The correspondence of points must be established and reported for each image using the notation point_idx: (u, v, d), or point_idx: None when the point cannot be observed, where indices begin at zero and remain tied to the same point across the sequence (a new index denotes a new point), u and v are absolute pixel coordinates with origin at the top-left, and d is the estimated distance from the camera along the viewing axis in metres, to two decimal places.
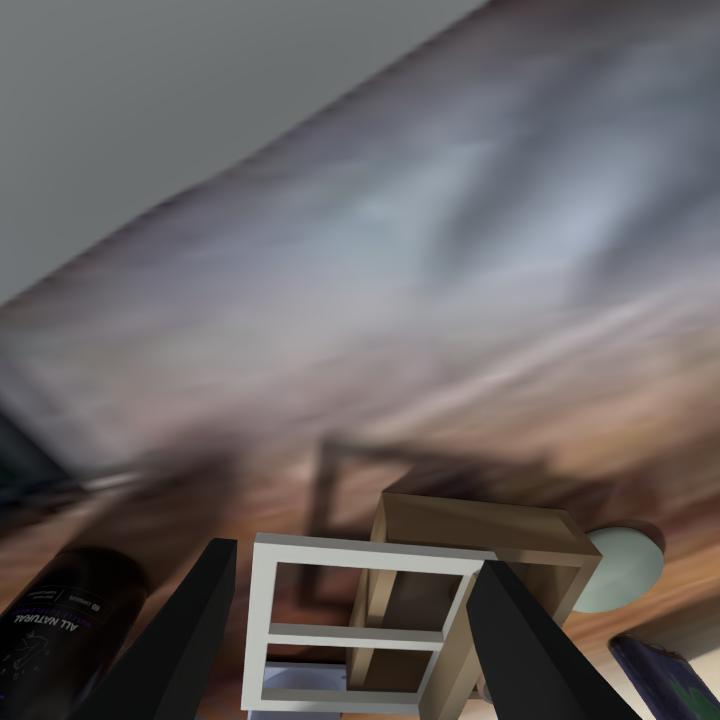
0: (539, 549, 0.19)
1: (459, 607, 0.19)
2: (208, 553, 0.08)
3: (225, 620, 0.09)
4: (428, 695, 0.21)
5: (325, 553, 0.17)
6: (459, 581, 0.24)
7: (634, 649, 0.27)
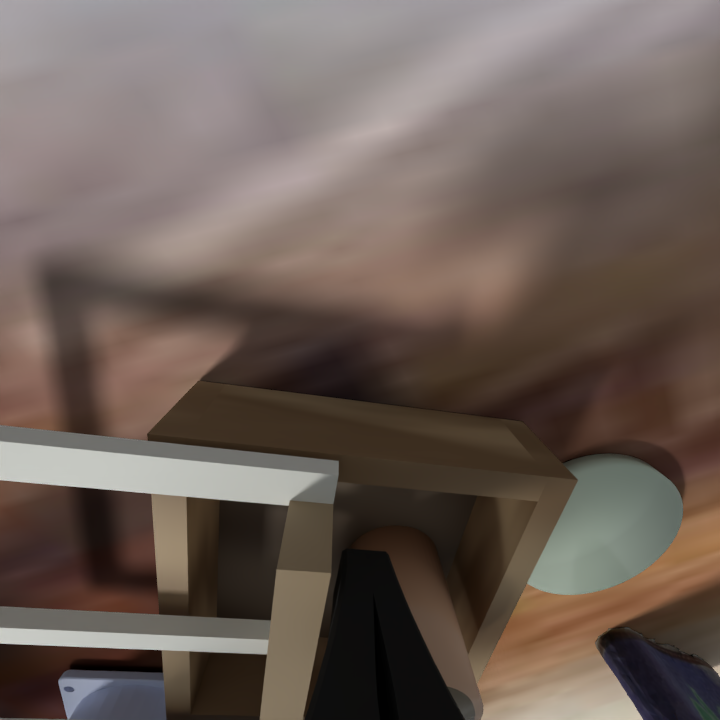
0: (456, 465, 0.10)
1: None
2: (350, 563, 0.09)
3: None
4: None
5: None
6: (355, 543, 0.15)
7: (636, 650, 0.18)
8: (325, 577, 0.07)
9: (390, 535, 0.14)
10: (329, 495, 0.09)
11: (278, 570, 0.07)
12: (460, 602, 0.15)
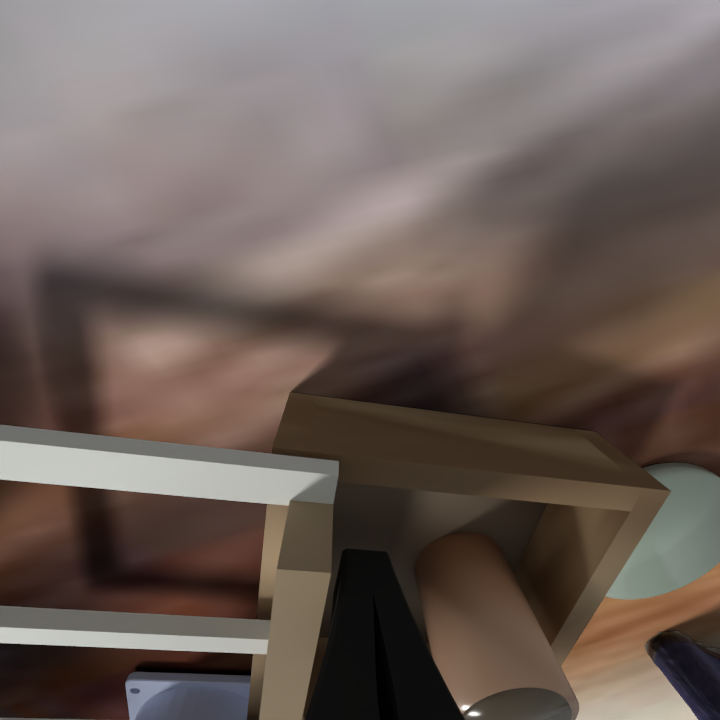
0: (557, 476, 0.11)
1: None
2: (350, 564, 0.09)
3: None
4: None
5: None
6: (427, 549, 0.15)
7: (688, 653, 0.19)
8: (325, 577, 0.07)
9: (463, 541, 0.15)
10: (329, 495, 0.09)
11: (278, 570, 0.07)
12: None
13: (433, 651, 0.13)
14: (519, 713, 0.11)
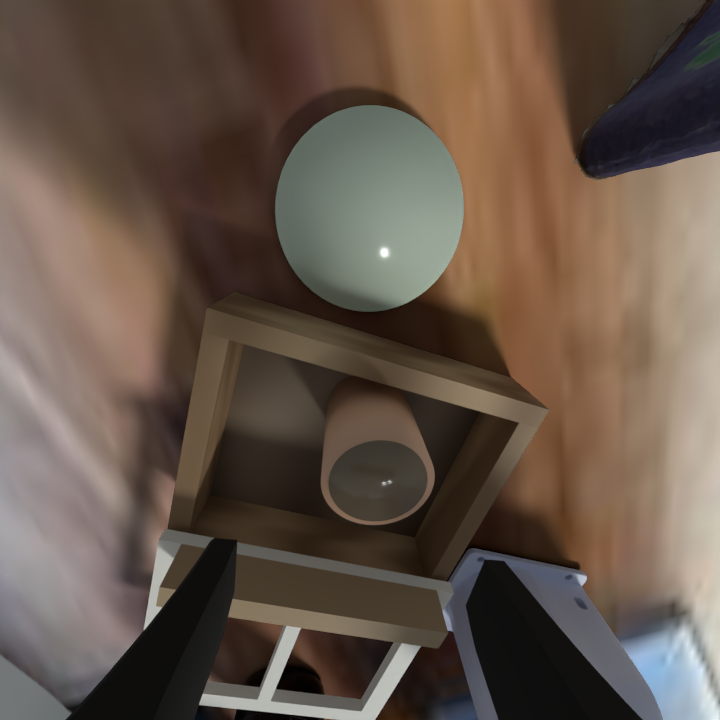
0: (191, 398, 0.14)
1: None
2: (208, 553, 0.08)
3: (225, 620, 0.09)
4: None
5: None
6: None
7: (598, 137, 0.13)
8: (163, 589, 0.14)
9: None
10: (174, 544, 0.15)
11: (155, 606, 0.14)
12: None
13: None
14: (361, 481, 0.13)
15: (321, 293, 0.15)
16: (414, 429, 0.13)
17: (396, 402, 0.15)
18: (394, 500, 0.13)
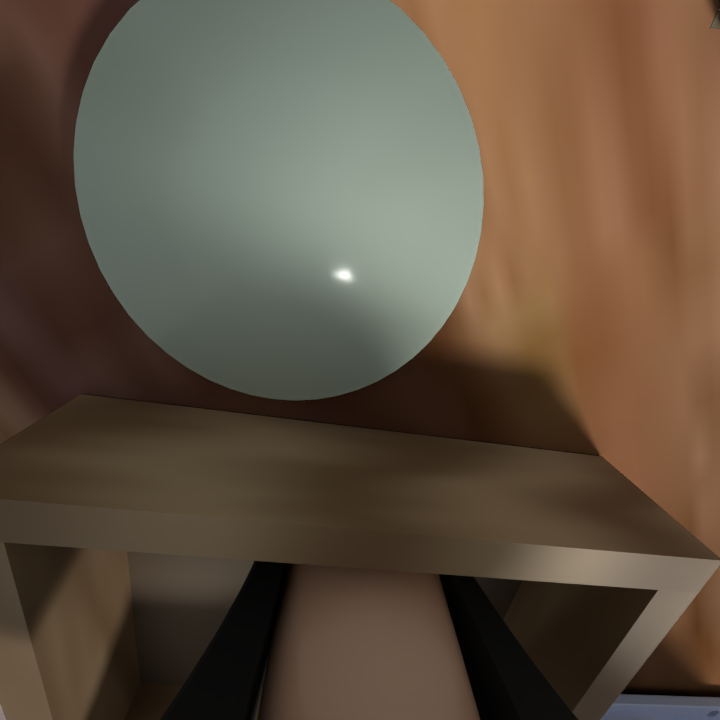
0: None
1: None
2: None
3: None
4: None
5: None
6: None
7: None
8: None
9: None
10: None
11: None
12: None
13: None
14: None
15: (226, 380, 0.08)
16: (443, 679, 0.06)
17: (400, 579, 0.07)
18: None
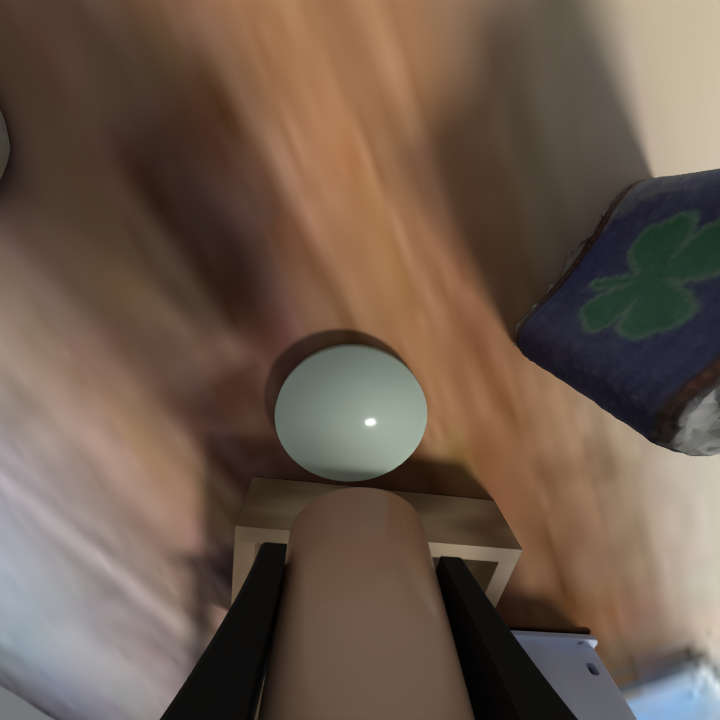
0: (232, 581, 0.18)
1: None
2: (262, 557, 0.08)
3: None
4: None
5: None
6: None
7: (526, 341, 0.16)
8: None
9: None
10: None
11: None
12: None
13: None
14: None
15: (321, 474, 0.19)
16: (433, 671, 0.06)
17: (393, 575, 0.08)
18: None
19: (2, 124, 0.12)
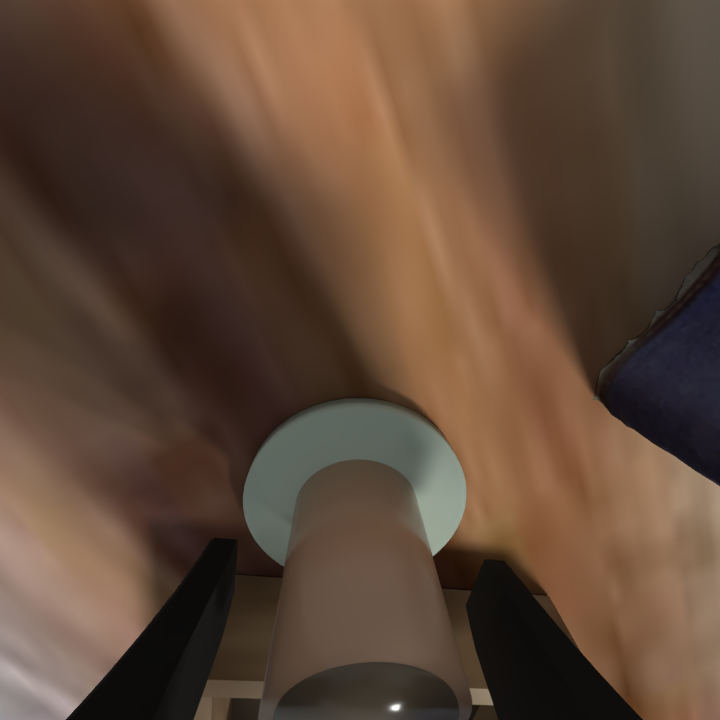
0: None
1: None
2: (208, 553, 0.08)
3: (225, 620, 0.09)
4: None
5: None
6: None
7: (623, 398, 0.10)
8: None
9: None
10: None
11: None
12: None
13: None
14: None
15: None
16: (419, 596, 0.07)
17: (387, 526, 0.09)
18: None
19: None
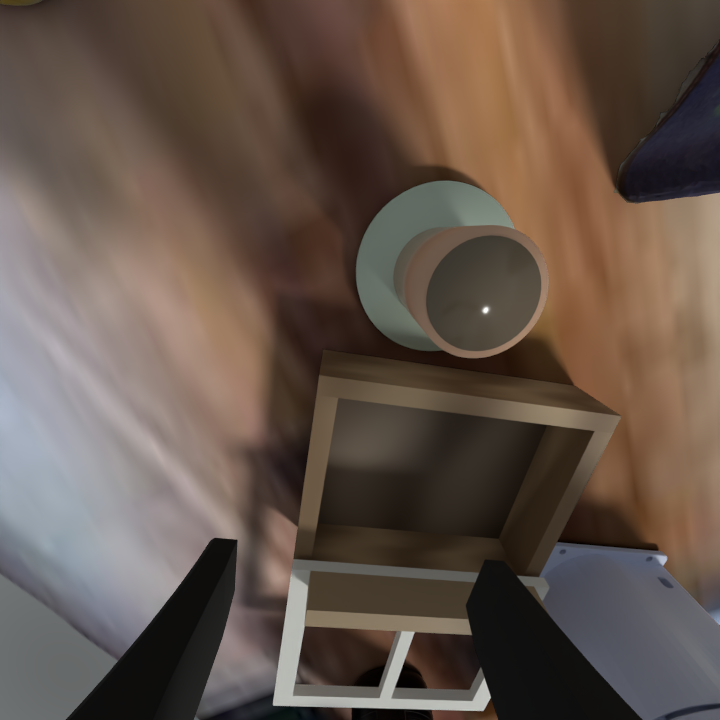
0: None
1: None
2: (208, 553, 0.08)
3: (225, 620, 0.09)
4: None
5: (283, 673, 0.21)
6: None
7: (637, 172, 0.15)
8: (309, 611, 0.16)
9: (395, 283, 0.16)
10: (304, 572, 0.18)
11: (304, 626, 0.16)
12: None
13: None
14: (463, 296, 0.11)
15: (400, 341, 0.17)
16: None
17: None
18: (504, 317, 0.11)
19: None
